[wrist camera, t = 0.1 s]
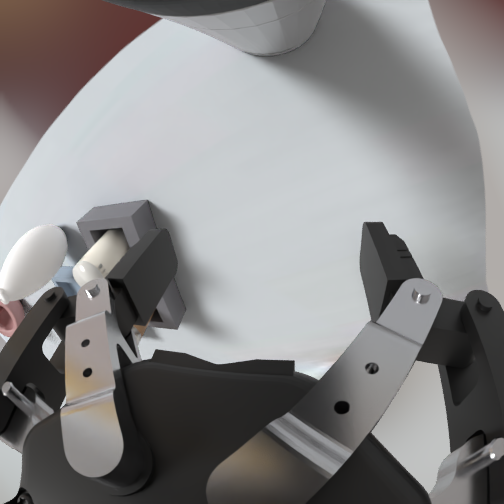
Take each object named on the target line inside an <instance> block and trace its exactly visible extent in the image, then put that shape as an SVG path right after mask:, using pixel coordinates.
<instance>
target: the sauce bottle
mask: <svg viewBox="0 0 504 504" xmlns="http://www.w3.org/2000/svg"><path fill="white" fill-rule="evenodd" d="M67 248H68V244H67V238H66V235H65V233H64V232H63V230H62V229H61V228H59V227H58V226H55V225H53V224H45V225H40V226H38V227H35V228H33V229H32V230H30V231H28V232H27V233H26V234H25V235H23V236H22V237H21V238H20V239H19V240H18V242H17V243H16V244H15V245H14V247H13V248H12V250H11V251H10V253H9V254H8V256H7V258H6V260H5V262H4V265H3V267H2V270H1V274H0V301H1V302H2V303H3V304H8V303H9V301H16V300H20V299H23V298H25V297H28V296H30V295H31V294H33V293H35V292H36V291H38V290H39V289H41V288H42V287H44V286H45V285H46V284H47V283H48V282H49V281H50V280H51V279H52V278H53V277H54V276H55V274H56V273H57V272H58V270H59V269H60V267H61V266H62V264H63V262H64V259H65V256H66V253H67Z"/></svg>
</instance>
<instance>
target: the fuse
mask: <svg viewBox="0 0 504 504" xmlns="http://www.w3.org/2000/svg"><path fill="white" fill-rule="evenodd" d="M129 249H130V247H129V244H128V242H127V239H126V237H125V234H124V231H123V229H122V228H112V229H109V230H108V231H107V232H106V233H105V234H104V235H103V236H102V237H101V238H100V239H99V240H98V241H97V242H96V243H95V244H94V245H93V246H92V247H91V249H90V250H89V251H88V252H87V253H86V254H85V255H84V256H83V257H82V258H81V260H80V261H79V262H78V263H77V264H76V265H75V266H74V268H73V276H74V279H75V280H76V282H77V283H78V285H79V286H80V287H82V286H83V285H84V284H86V283H87V282H89V281H91V280H93V279H97V278H105V277H106V276H107V275H108V273H109V272H110V271H111V270H112V269H113V267H114V266H115V265H116V264H117V263H118V262H120V259H121V258H122V257H123V256H125V253H126V252H127V251H128V250H129Z"/></svg>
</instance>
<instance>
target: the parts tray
mask: <svg viewBox="0 0 504 504" xmlns="http://www.w3.org/2000/svg"><path fill="white" fill-rule="evenodd" d="M73 268H74V267H70V266H61V267H60V269H59V270H58V272H57V273H56V274H55V276H54V277H53V278H52V279H51V280H52V281H53V283H54V285H55V286H56V287H62V288H63V290H64V291H65V293H66V295H67V297H69V296H74V295H77V293H78V291H79V289H80V288H81V287H80V286H79V285H78V283H77V282H76V280H75V279H74V276H73Z"/></svg>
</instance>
